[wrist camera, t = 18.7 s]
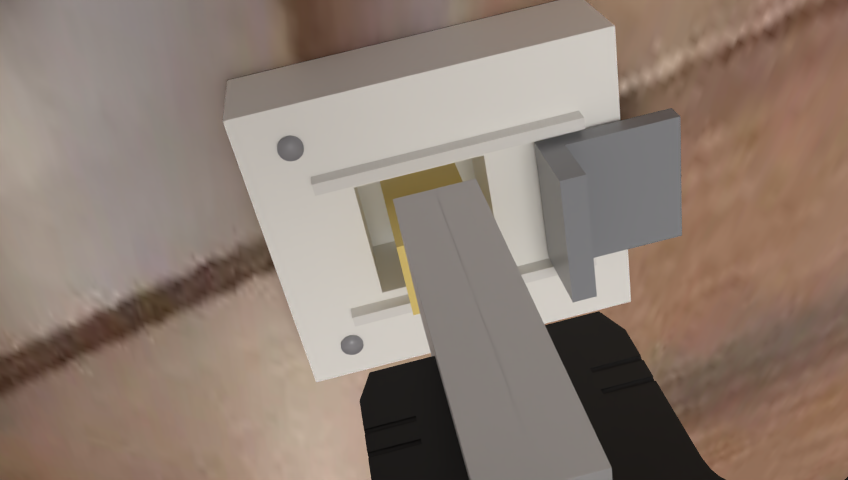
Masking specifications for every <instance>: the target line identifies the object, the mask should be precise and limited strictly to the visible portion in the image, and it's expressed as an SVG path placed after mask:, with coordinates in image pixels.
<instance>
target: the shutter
mask: <svg viewBox="0 0 848 480" xmlns="http://www.w3.org/2000/svg"><path fill="white" fill-rule="evenodd" d="M534 145H535V153H536V161H537V169H538V177H539V185H540V193H541V201H542V209H543V217H544V225H545V233H546V241H547V249H548V257H549V259H550V261H551V263H552V265H553V266H554V268H555V270H556V272H557V274H558V276H559V278H560V279H561V281H562V283H563V285H564V287H565V289H566V291H567V293H568V294H569V296H570V298H571V300H572V302H577V301H581V300H584V299H588V298H592V297H596V296H597V292H596V280H595V269H594V258H595V257H599V256H603V255H607V254H611V253H615V252H619V251H623V250H626V249H630V248H634V247H638V246H642V245H646V244H650V243H654V242H658V241H662V240H666V239H670V238H674V237H678V236H682V213H681V133H680V116H679V115H678V114H677V113H676V112H675V111H674V110H673V109H672V108H670V109H666V110H662V111H658V112H654V113H650V114H646V115H642V116H637V117H633V118H629V119H625V120H621V121H617V122H613V123H609V124H605V125H601V126H597V127H593V128H589V129H585V130H581V131H577V132H573V133H569V134H565V135H561V136H557V137H553V138H549V139H545V140H541V141H537V142H534Z"/></svg>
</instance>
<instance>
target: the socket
mask: <svg viewBox="0 0 848 480" xmlns="http://www.w3.org/2000/svg"><path fill="white" fill-rule="evenodd" d="M617 121H620V105H619V88H618V71H617V54H616V36H615V25H614V24H612V23H611V22H610V21H609V20H608V19H606V18H605V17H604V16H603V15H602V14H600V13H599V12H598V11H597V10H596V9H595V8H593V7H592V6H591V5H590V4H589V3H587V2H586V1H585V0H558V1H553V2H549V3H545V4H541V5H537V6H533V7H529V8H525V9H520V10H516V11H512V12H508V13H504V14H500V15H496V16H491V17H487V18H483V19H479V20H475V21H471V22H467V23H463V24H458V25H454V26H450V27H446V28H442V29H438V30H434V31H429V32H425V33H421V34H417V35H413V36H409V37H405V38H401V39H396V40H392V41H388V42H384V43H380V44H376V45H372V46H368V47H363V48H359V49H355V50H351V51H347V52H343V53H339V54H334V55H330V56H326V57H322V58H318V59H314V60H310V61H306V62H301V63H297V64H293V65H289V66H285V67H281V68H277V69H273V70H268V71H264V72H260V73H256V74H252V75H248V76H244V77H239V78H235V79H231V80H227V87H226V96H225V105H224V114H223V124H224V126H225V129H226V132H227V135H228V138H229V140H230V143H231V146H232V149H233V152H234V154H235V157H236V160H237V163H238V165H239V168H240V171H241V174H242V177H243V179H244V182H245V185H246V188H247V191H248V193H249V196H250V199H251V202H252V204H253V207H254V210H255V213H256V216H257V218H258V221H259V224H260V227H261V230H262V232H263V235H264V238H265V241H266V244H267V246H268V249H269V252H270V255H271V257H272V260H273V263H274V266H275V269H276V271H277V274H278V277H279V280H280V283H281V285H282V288H283V291H284V294H285V296H286V299H287V302H288V305H289V308H290V310H291V313H292V316H293V319H294V322H295V324H296V327H297V330H298V333H299V335H300V338H301V341H302V344H303V347H304V349H305V352H306V355H307V358H308V361H309V363H310V366H311V369H312V372H313V375H314V377H315V380H316V382H319V381H323V380H327V379H331V378H335V377H339V376H343V375H346V374H350V373H354V372H358V371H362V370H366V369H370V368H374V367H378V366H382V365H385V364H389V363H393V362H397V361H401V360H405V359H409V358H413V357H417V356H420V355H424V354H428V353H431V352H430V348H429V345H428V341H427V337H426V334H425V330H424V326H423V323H422V319H421V315H420V314H417V315H413V312H412V308H411V304H410V300H409V296H408V292H407V288H406V284H405V280H404V276H403V272H402V268H401V264H400V260H399V256H398V252H397V248H396V244H395V240H394V236H393V232H392V228H391V224H390V220H389V216H388V212H387V208H386V204H385V200H384V196H383V192H382V188H381V184H380V181H383V180H387V179H391V178H395V177H399V176H403V175H407V174H411V173H415V172H419V171H423V170H427V169H431V168H435V167H439V166H443V165H447V164H451V163H455V165H456V167H457V169H458V172H459V174H460V176H461V179H462V181H463V182H464V181H468V180H472V179H476V180H477V182H478V184H479V186H480V188H481V191H482V193H483V195H484V197H485V199H486V201H487V203H488V205H489V208H490V210H491V212H492V214H493V216H494V218H495V220H496V222H497V225H498V227H499V229H500V231H501V233H502V235H503V237H504V240H505V242H506V244H507V246H508V248H509V250H510V252H511V254H512V257H513V259H514V261H515V263H516V265H517V267H518V269H519V271H520V274H521V276H522V278H523V280H524V282H525V284H526V286H527V288H528V291H529V293H530V295H531V297H532V299H533V301H534V303H535V305H536V308H537V310H538V312H539V314H540V316H541V318H542V320H543V323H544V324H545V323H549V322H553V321H557V320H561V319H565V318H569V317H572V316H576V315H580V314H584V313H588V312H592V311H596V310H600V309H604V308H607V307H611V306H615V305H619V304H623V303H627V302H631V296H630V278H629V261H628V249H626V250H623V251H619V252H615V253H611V254H607V255H603V256H599V257H595V258H594V269H595V280H596V292H597V296H596V297H592V298H588V299H584V300H581V301H577V302H572V300H571V298H570V296H569V294H568V293H567V291H566V289H565V287H564V285H563V283H562V281H561V279H560V278H559V276H558V274H557V272H556V270H555V268H554V266H553V265H552V263H551V261H550V259H549V257H548V249H547V241H546V233H545V225H544V217H543V209H542V201H541V193H540V185H539V177H538V169H537V161H536V153H535V145H534V142H537V141H541V140H545V139H549V138H553V137H557V136H561V135H565V134H569V133H573V132H577V131H581V130H585V129H589V128H593V127H597V126H601V125H605V124H609V123H613V122H617Z"/></svg>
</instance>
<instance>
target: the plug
mask: <svg viewBox="0 0 848 480" xmlns="http://www.w3.org/2000/svg"><path fill="white" fill-rule="evenodd" d="M460 182H463V181H462V179H461V176H460V174H459V172H458V169H457V167H456V165H455V163H451V164H447V165H443V166H439V167H435V168H431V169H427V170H423V171H419V172H415V173H411V174H407V175H403V176H399V177H395V178H391V179H387V180H383V181H380V184H381V188H382V192H383V196H384V200H385V204H386V208H387V212H388V216H389V220H390V224H391V228H392V232H393V236H394V240H395V244H396V248H397V252H398V256H399V260H400V264H401V268H402V272H403V276H404V280H405V284H406V288H407V292H408V296H409V300H410V304H411V308H412V312H413V315H417V314H420V311H419V307H418V302H417V298H416V294H415V290H414V286H413V282H412V277H411V273H410V269H409V265H408V261H407V256H406V252H405V248H404V244H403V240H402V236H401V231H400V227H399V223H398V219H397V215H396V211H395V206H394V202H393V199H395V198H399V197H403V196H407V195H411V194H416V193H420V192H424V191H428V190H432V189H436V188H440V187H444V186H448V185H452V184H456V183H460Z"/></svg>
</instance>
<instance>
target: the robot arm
mask: <svg viewBox="0 0 848 480" xmlns="http://www.w3.org/2000/svg"><path fill="white" fill-rule="evenodd" d="M393 202H394V206H395V211H396V215H397V219H398V223H399V227H400V231H401V236H402V240H403V244H404V248H405V252H406V256H407V261H408V265H409V269H410V273H411V277H412V282H413V286H414V290H415V294H416V298H417V302H418V307H419V311H420V315H421V319H422V323H423V326H424V330H425V334H426V337H427V341H428V345H429V348H430V352H431V356H432V357H428V358H424V359H421V360H417V361H413V362H409V363H405V364H401V365H397V366H393V367H389V368H386V369H382V370H378V371H374V372H370V373H369V376H368V379H367V382H366V385H365V387H364V390H363V393H362V396H361V399H360V406H361V412H362V419H363V426H364V431H365V439H366V446H367V452H368V456H369V458H368V459H369V466H370V473H371V479H372V480H725V479H723V478H722V477H720V476H718V475H717V474H716V473H715V472H713V471H712V470H711V469H710V468H709V466H708V465H707V464H706V462H705V461H704V460H703V459H702V457H701V456H700V454H699V452H698V451H697V449H696V447H695V446H694V444H693V442H692V441H691V439H690V437H689V436H688V434H687V432H686V431H685V429H684V427H683V426H682V424H681V422H680V421H679V419H678V417H677V416H676V414H675V412H674V411H673V409H672V407H671V406H670V404H669V402H668V401H667V399H666V397H665V396H664V394H663V392H662V390H661V389H660V387H659V385H658V384H657V382H656V381H654V379H653V375H652V374H651V372H650V370H649V369H648V367H647V365H646V364H645V362H644V360H642V359H641V356H640V354H639V352H638V350H637V349H636V347H635V345H634V344H633V342H632V340H631V339H630V337H629V335H628V334H627V332H626V330H625V329H623V328H622V327H620V326H619V325H618V324H616V323H615V322H613V321H612V320H610V319H609V318H608V317H606V316H605V315H603V314H602V313H600V312H595V313H591V314H587V315H583V316H579V317H575V318H571V319H568V320H564V321H560V322H556V323H552V324H548V325H544V323H543V320H542V318H541V316H540V314H539V312H538V310H537V308H536V305H535V303H534V301H533V299H532V297H531V295H530V293H529V291H528V288H527V286H526V284H525V282H524V280H523V278H522V276H521V274H520V271H519V269H518V267H517V265H516V263H515V261H514V259H513V257H512V254H511V252H510V250H509V248H508V246H507V244H506V242H505V240H504V237H503V235H502V233H501V231H500V229H499V227H498V225H497V222H496V220H495V218H494V216H493V214H492V212H491V210H490V208H489V205H488V203H487V201H486V199H485V197H484V195H483V193H482V191H481V188H480V186H479V184H478V182H477V180H476V179H472V180H468V181H464V182H460V183H456V184H452V185H448V186H444V187H440V188H436V189H432V190H428V191H424V192H420V193H416V194H411V195H407V196H403V197H399V198H395V199H393ZM845 480H848V477H847V478H846V479H845Z"/></svg>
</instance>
